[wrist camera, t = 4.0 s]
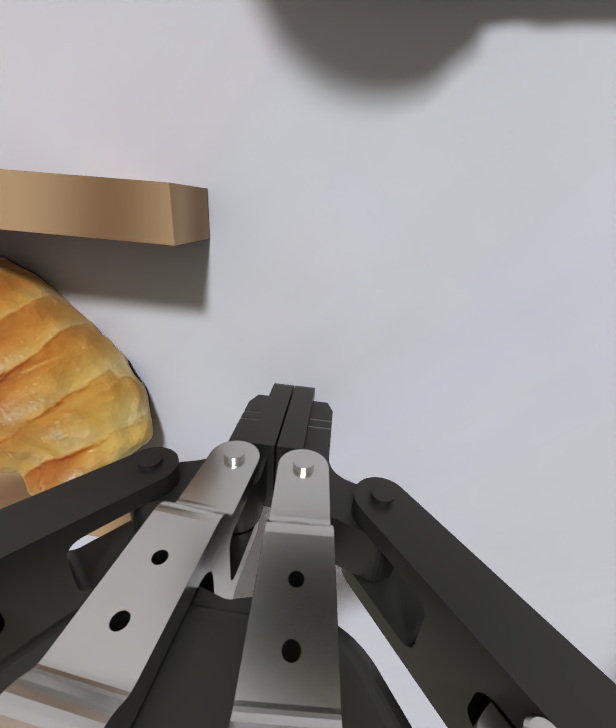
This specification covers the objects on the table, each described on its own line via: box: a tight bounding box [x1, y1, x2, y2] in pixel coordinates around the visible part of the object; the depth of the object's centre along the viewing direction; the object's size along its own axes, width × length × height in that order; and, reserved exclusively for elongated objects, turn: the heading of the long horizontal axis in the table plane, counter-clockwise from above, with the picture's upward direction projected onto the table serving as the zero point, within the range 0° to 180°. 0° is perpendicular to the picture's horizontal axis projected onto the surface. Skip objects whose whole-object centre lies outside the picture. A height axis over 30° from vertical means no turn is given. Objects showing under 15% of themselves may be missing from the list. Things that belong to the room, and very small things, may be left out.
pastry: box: [0, 257, 153, 496], centre depth 13 cm, size 9×7×4 cm
